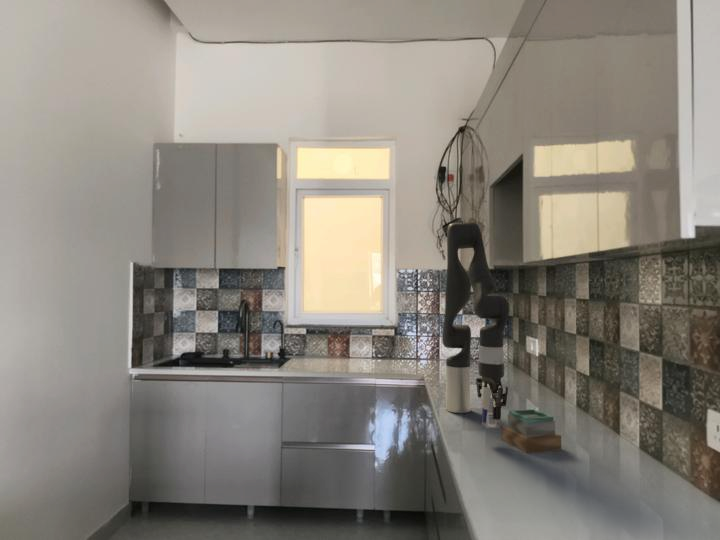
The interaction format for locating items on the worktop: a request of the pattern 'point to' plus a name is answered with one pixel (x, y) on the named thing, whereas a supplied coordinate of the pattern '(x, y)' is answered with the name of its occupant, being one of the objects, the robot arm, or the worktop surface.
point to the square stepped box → (531, 431)
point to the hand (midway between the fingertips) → (491, 416)
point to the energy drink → (488, 410)
